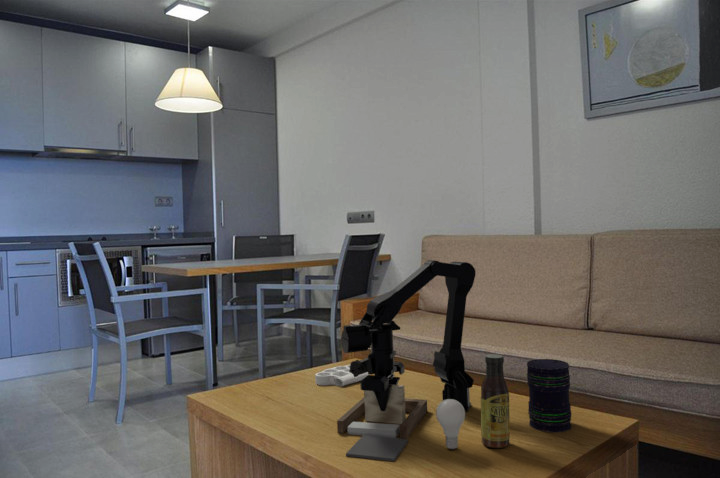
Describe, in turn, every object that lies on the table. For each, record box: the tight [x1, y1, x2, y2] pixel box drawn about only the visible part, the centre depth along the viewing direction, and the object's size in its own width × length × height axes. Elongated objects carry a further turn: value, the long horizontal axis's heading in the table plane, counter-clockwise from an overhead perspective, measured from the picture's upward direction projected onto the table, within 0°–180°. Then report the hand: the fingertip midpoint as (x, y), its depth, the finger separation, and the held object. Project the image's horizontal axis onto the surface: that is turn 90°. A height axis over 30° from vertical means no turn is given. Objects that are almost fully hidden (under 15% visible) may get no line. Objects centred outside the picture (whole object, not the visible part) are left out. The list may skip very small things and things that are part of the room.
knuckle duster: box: [314, 363, 370, 387], centre depth 184 cm, size 3×18×15 cm
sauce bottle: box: [480, 353, 511, 449], centre depth 124 cm, size 7×6×20 cm
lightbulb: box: [435, 399, 466, 450], centre depth 123 cm, size 6×6×11 cm
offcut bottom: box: [347, 430, 400, 438], centre depth 135 cm, size 12×4×1 cm, turn 70°
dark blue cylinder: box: [526, 358, 572, 433], centre depth 135 cm, size 10×10×15 cm
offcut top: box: [347, 421, 401, 436], centre depth 135 cm, size 12×4×1 cm, turn 72°
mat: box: [345, 435, 409, 462], centre depth 125 cm, size 11×11×1 cm
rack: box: [336, 397, 428, 439], centre depth 142 cm, size 18×20×3 cm
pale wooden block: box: [363, 384, 407, 425], centre depth 143 cm, size 10×3×9 cm, turn 70°
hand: (384, 408), depth 143 cm, fingers closed on pale wooden block, 3 cm apart
